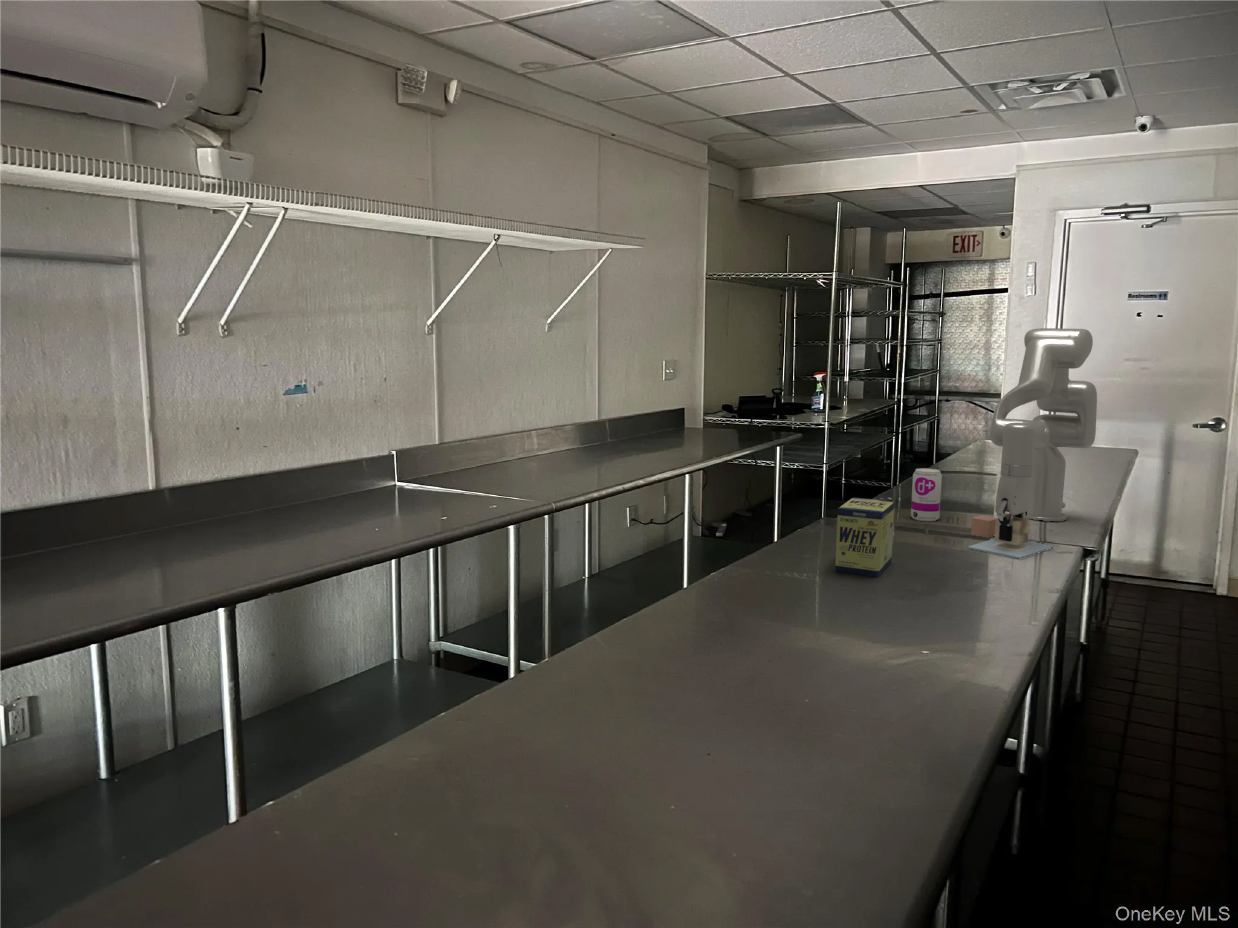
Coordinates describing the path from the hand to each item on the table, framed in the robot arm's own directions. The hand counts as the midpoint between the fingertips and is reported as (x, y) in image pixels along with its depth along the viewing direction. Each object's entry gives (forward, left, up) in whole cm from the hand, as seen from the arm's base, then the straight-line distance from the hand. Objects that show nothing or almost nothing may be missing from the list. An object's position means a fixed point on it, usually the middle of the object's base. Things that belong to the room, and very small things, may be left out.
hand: (1011, 537), depth 232 cm
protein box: (+45, -14, -3) cm, 47 cm away
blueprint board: (0, 0, -3) cm, 3 cm away
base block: (0, 0, -1) cm, 1 cm away
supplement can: (-15, -34, -3) cm, 37 cm away
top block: (-9, -12, -3) cm, 15 cm away
